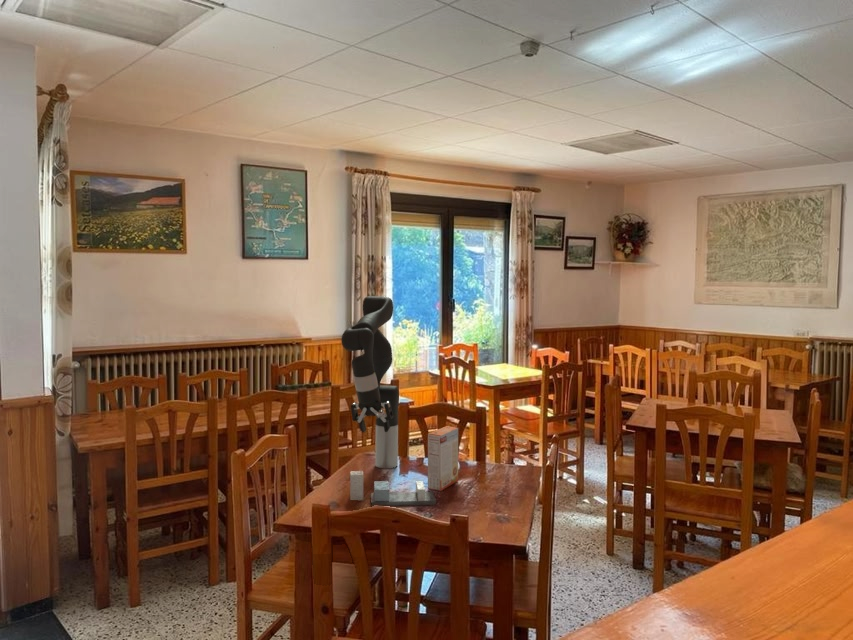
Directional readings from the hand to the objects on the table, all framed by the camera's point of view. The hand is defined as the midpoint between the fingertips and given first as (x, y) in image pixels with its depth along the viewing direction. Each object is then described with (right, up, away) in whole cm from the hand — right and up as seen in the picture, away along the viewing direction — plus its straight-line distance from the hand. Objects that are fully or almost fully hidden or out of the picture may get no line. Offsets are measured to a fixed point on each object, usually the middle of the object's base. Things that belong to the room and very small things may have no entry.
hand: (375, 431), depth 215 cm
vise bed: (+9, -25, +5) cm, 27 cm away
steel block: (-7, -25, +7) cm, 27 cm away
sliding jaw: (+2, -23, +4) cm, 24 cm away
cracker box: (+24, -24, +22) cm, 41 cm away
